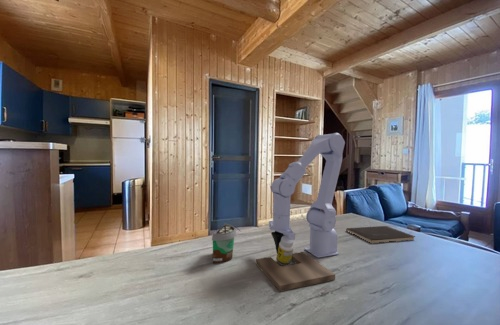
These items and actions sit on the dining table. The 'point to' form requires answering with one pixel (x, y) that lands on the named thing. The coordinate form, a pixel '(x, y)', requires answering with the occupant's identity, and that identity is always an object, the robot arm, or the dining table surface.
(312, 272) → the notched board
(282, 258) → the supplement bottle
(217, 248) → the food container
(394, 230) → the dark brown flat board
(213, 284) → the dining table surface
